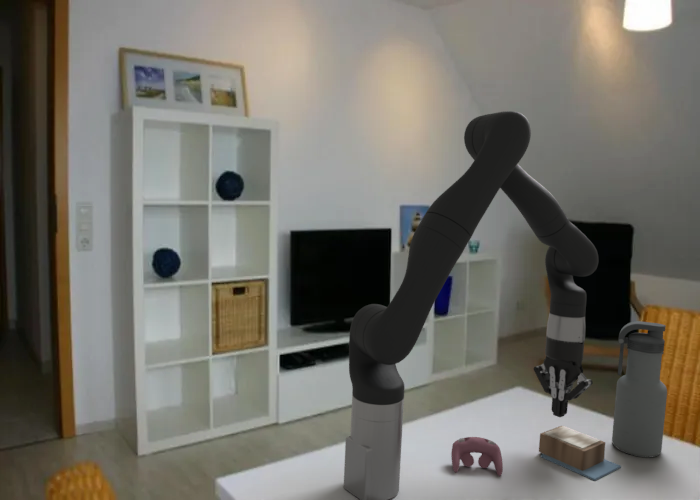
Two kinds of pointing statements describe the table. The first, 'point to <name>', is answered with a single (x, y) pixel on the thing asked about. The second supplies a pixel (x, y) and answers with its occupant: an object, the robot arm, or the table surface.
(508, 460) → the table surface
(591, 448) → the wooden block
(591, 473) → the rubber mat
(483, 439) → the video game controller
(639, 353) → the water bottle
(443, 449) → the table surface
